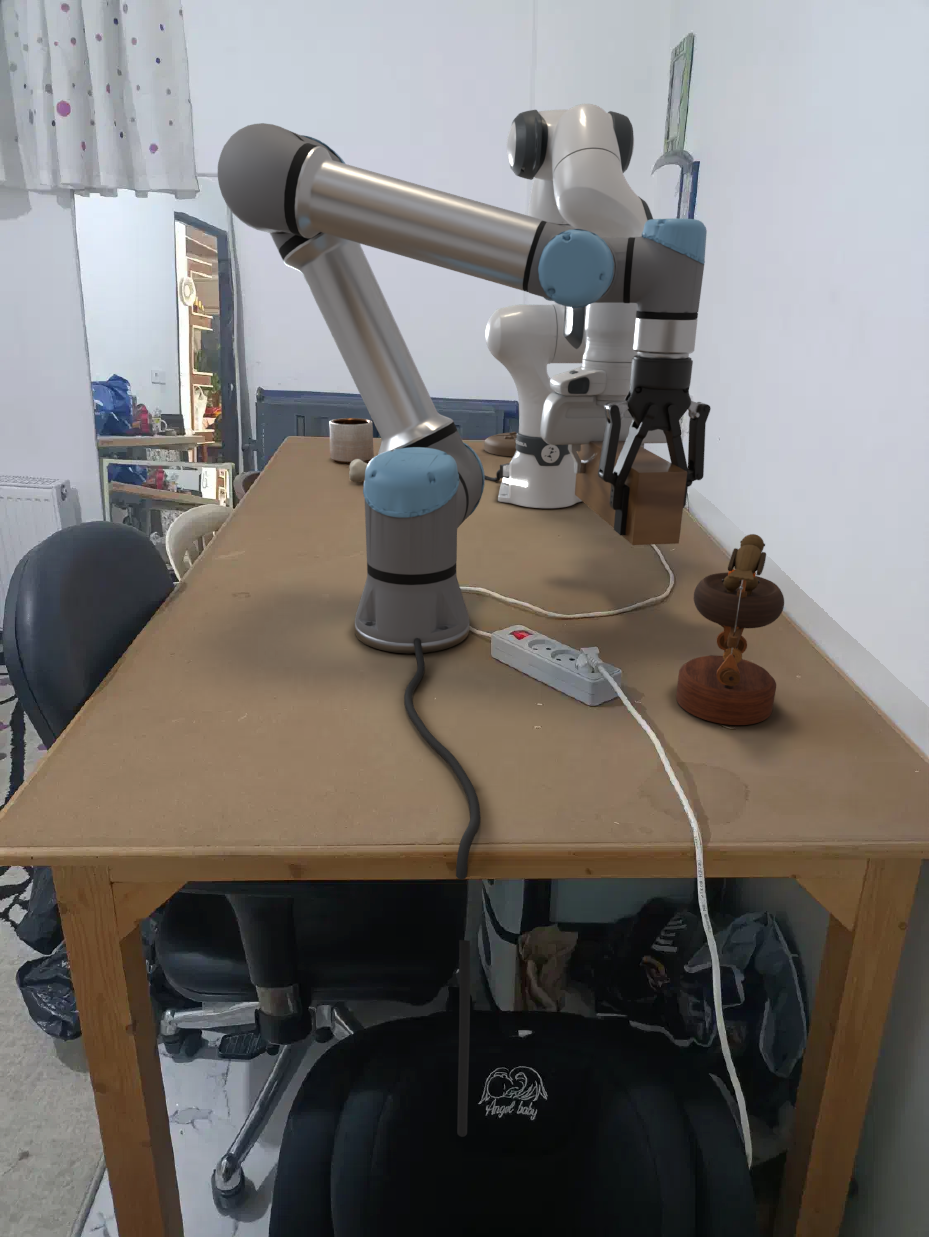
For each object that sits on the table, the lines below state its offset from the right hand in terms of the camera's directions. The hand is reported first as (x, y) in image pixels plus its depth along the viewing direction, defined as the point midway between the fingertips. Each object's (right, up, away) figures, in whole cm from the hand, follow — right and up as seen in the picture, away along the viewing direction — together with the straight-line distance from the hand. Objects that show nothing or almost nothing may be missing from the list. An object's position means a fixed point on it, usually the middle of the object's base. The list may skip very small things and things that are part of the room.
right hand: (603, 472), depth 131 cm
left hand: (+3, -11, -16) cm, 19 cm away
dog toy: (-38, +9, +62) cm, 73 cm away
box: (+2, -8, -7) cm, 11 cm away
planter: (-50, +18, +83) cm, 99 cm away
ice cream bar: (-5, +20, +92) cm, 94 cm away
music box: (+8, -32, -35) cm, 48 cm away
